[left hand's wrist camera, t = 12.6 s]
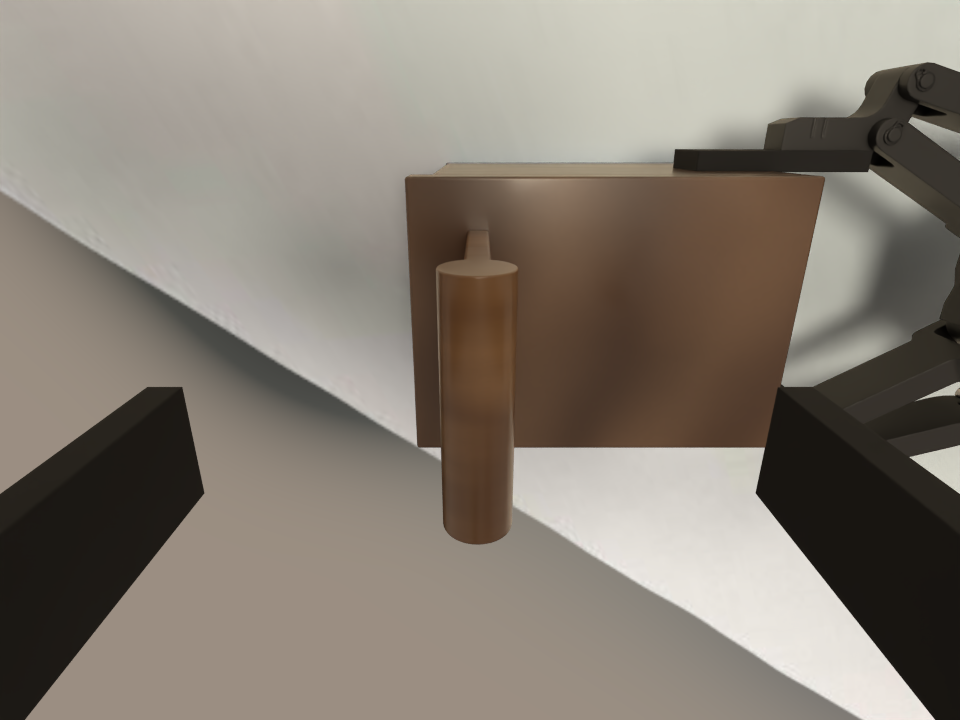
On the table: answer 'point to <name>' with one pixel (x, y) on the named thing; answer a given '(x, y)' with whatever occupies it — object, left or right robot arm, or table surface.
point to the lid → (596, 317)
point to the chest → (582, 169)
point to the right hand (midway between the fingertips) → (668, 291)
